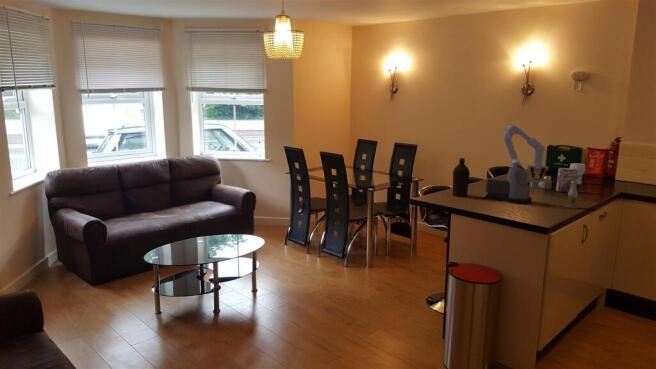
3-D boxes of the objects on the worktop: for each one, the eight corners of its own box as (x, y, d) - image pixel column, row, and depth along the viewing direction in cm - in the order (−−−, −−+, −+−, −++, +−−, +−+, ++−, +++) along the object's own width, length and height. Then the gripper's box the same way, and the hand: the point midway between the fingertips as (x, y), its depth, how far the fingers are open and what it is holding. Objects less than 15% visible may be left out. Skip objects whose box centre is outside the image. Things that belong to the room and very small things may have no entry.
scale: (531, 188, 366) (532, 181, 365) (530, 183, 382) (530, 177, 381) (551, 189, 362) (552, 182, 361) (548, 185, 378) (549, 178, 377)
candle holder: (574, 205, 311) (578, 173, 308) (582, 208, 303) (586, 175, 299) (560, 205, 311) (564, 172, 307) (568, 208, 303) (571, 175, 299)
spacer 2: (543, 183, 386) (544, 176, 386) (543, 182, 391) (543, 175, 390) (550, 183, 385) (551, 177, 384) (550, 182, 390) (550, 176, 389)
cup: (586, 184, 382) (588, 165, 379) (571, 184, 382) (574, 164, 379) (579, 182, 392) (581, 163, 390) (565, 182, 393) (567, 162, 390)
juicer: (535, 201, 323) (539, 163, 318) (530, 205, 309) (534, 166, 305) (488, 195, 338) (491, 159, 334) (481, 199, 325) (484, 161, 321)
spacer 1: (533, 180, 383) (533, 173, 382) (532, 179, 387) (533, 172, 387) (540, 180, 381) (540, 174, 380) (539, 179, 386) (540, 173, 385)
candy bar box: (558, 192, 353) (560, 168, 349) (555, 190, 357) (558, 167, 354) (574, 192, 351) (577, 169, 348) (572, 191, 356) (574, 168, 353)
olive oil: (458, 197, 329) (461, 159, 324) (448, 194, 338) (450, 157, 334) (471, 196, 334) (474, 158, 329) (460, 193, 343) (463, 156, 338)
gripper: (548, 160, 383) (546, 177, 386) (527, 158, 387) (526, 176, 390) (549, 161, 376) (547, 179, 379) (528, 160, 381) (526, 177, 383)
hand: (536, 177), depth 384 cm, fingers closed on spacer 1, 5 cm apart
